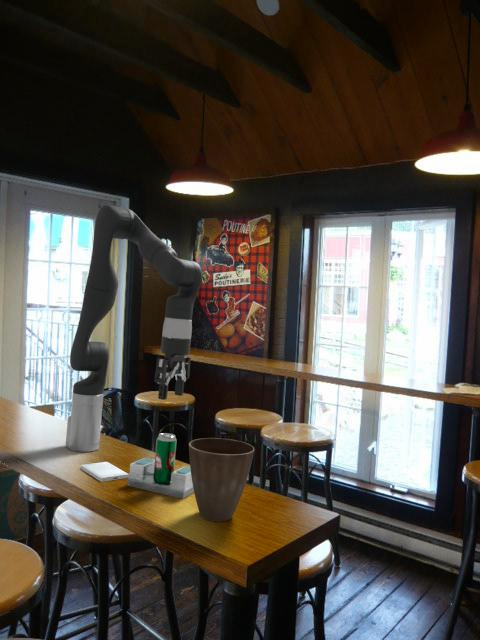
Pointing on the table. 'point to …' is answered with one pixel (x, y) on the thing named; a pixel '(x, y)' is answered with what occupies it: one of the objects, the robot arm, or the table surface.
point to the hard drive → (104, 471)
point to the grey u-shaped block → (143, 479)
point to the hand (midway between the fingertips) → (170, 397)
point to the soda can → (164, 458)
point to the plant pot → (219, 475)
